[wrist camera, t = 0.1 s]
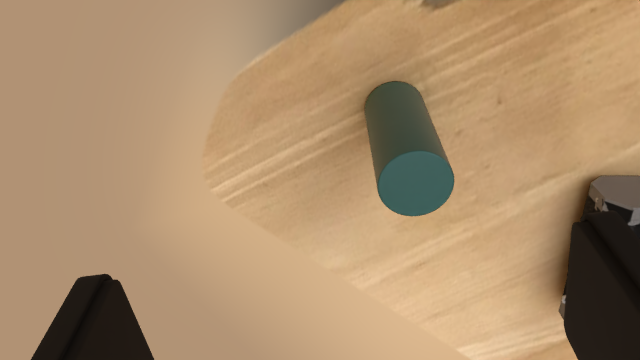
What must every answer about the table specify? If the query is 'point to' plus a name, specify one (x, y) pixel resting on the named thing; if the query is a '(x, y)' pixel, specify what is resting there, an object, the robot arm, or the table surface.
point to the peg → (406, 151)
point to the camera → (613, 204)
